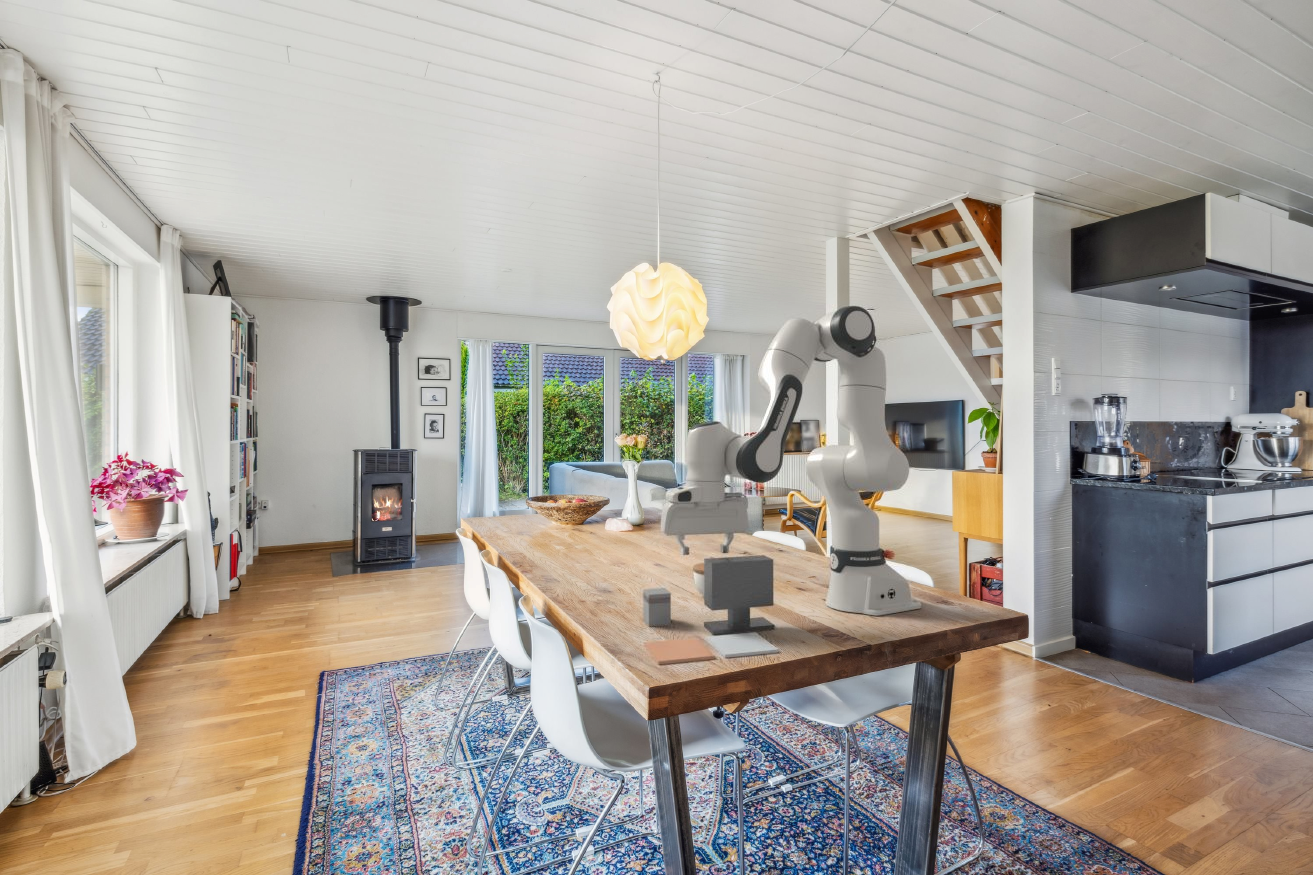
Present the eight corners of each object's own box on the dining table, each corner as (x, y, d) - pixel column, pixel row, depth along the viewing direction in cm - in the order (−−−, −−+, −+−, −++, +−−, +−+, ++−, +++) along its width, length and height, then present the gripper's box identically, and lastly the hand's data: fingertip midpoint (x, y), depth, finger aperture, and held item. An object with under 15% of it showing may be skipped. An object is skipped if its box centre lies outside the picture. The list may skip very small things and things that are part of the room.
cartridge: (664, 618, 150) (664, 587, 150) (670, 624, 145) (670, 593, 145) (643, 620, 149) (643, 589, 149) (648, 626, 144) (648, 594, 144)
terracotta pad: (696, 640, 134) (696, 637, 134) (714, 658, 124) (714, 655, 124) (644, 645, 131) (644, 642, 131) (658, 664, 121) (658, 661, 121)
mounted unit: (763, 621, 147) (762, 554, 147) (774, 629, 141) (774, 559, 141) (703, 626, 144) (703, 558, 143) (713, 634, 138) (712, 563, 137)
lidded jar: (685, 597, 168) (685, 561, 168) (706, 589, 177) (705, 554, 177) (722, 603, 162) (722, 566, 162) (741, 594, 171) (741, 558, 171)
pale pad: (755, 635, 137) (755, 632, 137) (778, 652, 127) (778, 649, 127) (705, 639, 135) (705, 636, 135) (724, 657, 124) (724, 654, 124)
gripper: (742, 490, 155) (742, 549, 155) (658, 492, 150) (658, 553, 150) (753, 493, 149) (752, 554, 149) (666, 495, 144) (665, 558, 144)
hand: (704, 553), depth 149 cm, fingers open, 8 cm apart
